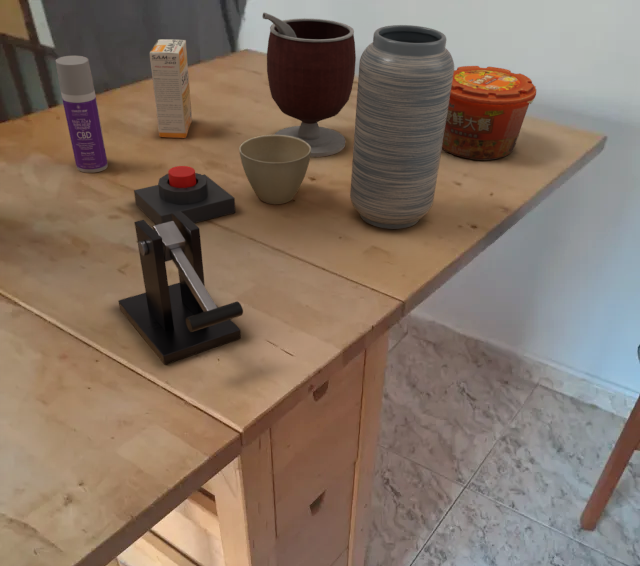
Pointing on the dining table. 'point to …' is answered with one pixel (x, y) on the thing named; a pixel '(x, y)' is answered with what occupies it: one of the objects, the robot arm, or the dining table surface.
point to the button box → (184, 200)
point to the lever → (194, 281)
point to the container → (82, 113)
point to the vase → (400, 124)
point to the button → (182, 177)
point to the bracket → (171, 298)
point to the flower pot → (275, 166)
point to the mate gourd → (311, 76)
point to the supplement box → (171, 87)
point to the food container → (486, 112)
